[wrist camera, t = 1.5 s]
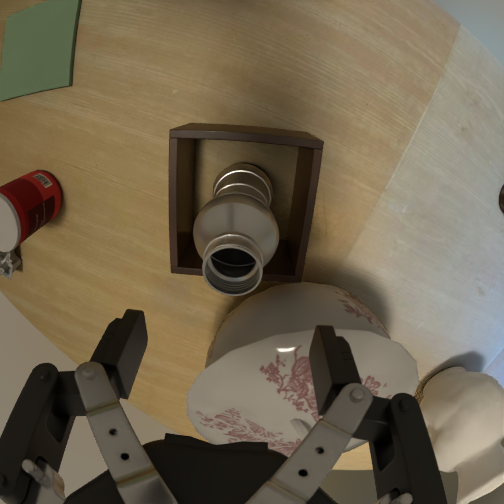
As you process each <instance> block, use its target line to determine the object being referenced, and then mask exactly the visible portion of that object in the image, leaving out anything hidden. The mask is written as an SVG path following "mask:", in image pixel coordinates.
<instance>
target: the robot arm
mask: <svg viewBox="0 0 504 504" xmlns="http://www.w3.org/2000/svg"><path fill="white" fill-rule="evenodd" d="M147 341H148V336H147V329H146V323H145V316H144V312H143V311H141V310H133V309H127V310H126V312H125V314H124V316H123V318H122V319H120V318H116V319H115V320H114V321H112V322H111V323H110V324H109V325H108V327H107V329H106V331H105V333H104V334H103V336H102V339H101V340H100V342H99V344H98V346H97V348H96V349H95V351H94V353H93V355H92V357H91V359H90V361H89V362H85V363H83V364H81V365H80V366H79V367H78V368H77V369H76V371H64V372H63V371H62V372H58V370H57V368H56V367H55V366H54V365H53V364H50V363H42V364H39V365H38V366H36V367H35V368H34V369H33V370H32V372H31V374H30V376H29V378H28V380H27V382H26V384H25V386H24V388H23V389H22V391H21V394H20V396H19V398H18V400H17V402H16V404H15V406H14V408H13V410H12V413H11V415H10V417H9V419H8V421H7V423H6V426H5V428H4V431H3V433H2V435H1V438H0V499H2V500H3V501H4V502H5V503H6V504H338V503H336V502H335V501H334V500H333V499H332V498H331V497H330V496H329V495H328V494H327V493H325V492H324V491H323V490H322V489H321V488H320V487H319V486H320V485H321V484H322V482H323V481H324V479H325V478H326V476H327V475H328V474H329V472H330V471H331V469H332V468H333V466H334V465H335V463H336V462H337V460H338V459H339V457H340V456H341V454H342V453H343V451H344V450H345V448H346V446H347V445H348V443H349V442H350V440H351V438H355V439H360V440H366V441H368V442H369V447H370V453H371V459H372V465H373V471H374V478H375V485H376V491H377V499H378V501H376V502H375V503H374V504H447V500H446V496H445V491H444V487H443V483H442V480H441V475H440V472H439V468H438V464H437V460H436V457H435V453H434V450H433V447H432V443H431V440H430V437H429V433H428V430H427V427H426V424H425V421H424V418H423V415H422V412H421V409H420V406H419V403H418V401H417V400H416V398H415V397H413V396H412V395H410V394H408V393H398V394H395V395H394V396H393V397H392V399H387V398H382V397H377V396H374V395H372V393H371V391H370V390H369V389H368V388H367V387H366V386H364V385H362V382H361V379H360V376H359V372H358V369H357V366H356V363H355V360H354V357H353V354H352V351H351V348H350V345H349V343H348V342H347V341H346V340H345V338H344V337H343V336H336V334H335V330H334V327H333V326H332V325H316V327H315V331H314V335H313V338H312V342H311V346H310V350H309V363H310V369H311V374H312V380H313V386H314V392H315V398H316V404H317V410H318V416H323V417H322V418H320V419H319V420H318V421H317V422H316V424H315V425H314V426H313V428H312V429H311V430H310V432H309V433H308V434H307V435H306V437H305V438H304V439H303V440H302V442H301V443H300V444H299V445H298V447H297V448H296V449H295V450H294V452H293V453H292V454H291V455H290V456H289V457H287V456H286V455H284V454H282V453H280V452H278V451H275V450H272V449H268V442H250V441H240V442H234V443H227V444H219V445H215V444H211V443H208V442H205V441H202V440H199V439H196V438H193V437H190V436H183V435H175V434H169V433H166V434H165V439H163V440H157V441H152V442H149V443H146V444H144V445H141V443H140V441H139V440H138V437H137V436H136V434H135V432H134V430H133V428H132V426H131V424H130V422H129V420H128V418H127V416H126V414H125V412H124V410H123V408H122V406H121V404H120V402H119V400H120V398H123V399H128V398H129V395H130V392H131V389H132V386H133V383H134V380H135V377H136V374H137V372H138V369H139V366H140V363H141V361H142V358H143V355H144V352H145V350H146V347H147ZM76 416H87V419H88V422H89V424H90V427H91V430H92V432H93V435H94V437H95V439H96V442H97V444H98V447H99V449H100V451H101V454H102V456H103V458H104V460H105V462H106V464H107V466H108V470H107V471H105V472H104V473H102V474H100V475H99V476H98V477H96V478H95V479H93V480H92V481H90V482H88V483H87V484H85V485H84V486H82V487H81V488H79V489H78V490H76V491H75V492H73V493H72V494H70V495H69V496H68V497H67V498H65V495H64V482H63V479H62V478H61V476H60V475H59V474H58V471H59V468H60V464H61V461H62V458H63V454H64V451H65V448H66V445H67V441H68V438H69V435H70V432H71V429H72V426H73V423H74V420H75V417H76Z"/></svg>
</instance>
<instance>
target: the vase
mask: <svg viewBox="0 0 504 504" xmlns="http://www.w3.org/2000/svg"><path fill="white" fill-rule="evenodd" d="M423 396H424V397H423V399H422V401H421V403H420V405H419V406H420V409H421V412H422V415H423V418H424V421H425V424H426V427H427V430H428V433H429V437H430V440H431V443H432V447H433V450H434V453H435V457H436V460H437V464H438V468H439V470H441V471H444V472H453V471H457V473H458V478H459V487H458V496H457V502H456V504H467V503H469V502H470V501H473V500H475V499H477V498H479V497H480V496H483V495H485V494H487V493H489V492H491V491H493V490H494V489H496V488H497V487H498V486H500V485H501V484H502V483H504V448H503V447H502V445H501V440H502V439H503V438H504V390H503V388H502V386H501V385H500V384H499V383H498V381H497V380H496V379H494V378H493V377H492V376H490V375H488V374H484V373H480V372H473V371H470V372H467V371H466V370H465V369H464V368H463V367H451V368H448V369H445V370H443V371H442V372H439V373H438V374H436V375H435V376H433V377H432V378H431V379H430V380H429V381H428V382H427V384H426V385H425V387H424V389H423Z"/></svg>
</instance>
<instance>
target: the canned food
mask: <svg viewBox="0 0 504 504" xmlns="http://www.w3.org/2000/svg"><path fill="white" fill-rule="evenodd" d="M61 204H62V193H61V189H60V186H59V184H58V182H57V181H56V179H55V178H54V177H53V176H52V175H51V174H49V173H47V172H45V171H33V172H31V173H28V174H26V175H24V176H22V177H20V178H17V179H15V180H13V181H11V182H9V183H7V184H5V185H3V186H1V187H0V251H1V252H8V251H11V250H12V249H14V248H15V247H17V246H18V245H19V244H21V243H22V242H23V241H24V240H26V239H27V238H28V237H29V236H31V235H32V234H33V233H34V232H36V231H37V230H38V229H40V228H41V227H42V226H44V225H45V224H46V223H48V222H49V221H50V220H52V219H53V218H54V217H55V216H56V215H57V213H58V211H59V210H60V208H61Z"/></svg>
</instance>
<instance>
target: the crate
mask: <svg viewBox="0 0 504 504" xmlns="http://www.w3.org/2000/svg"><path fill="white" fill-rule="evenodd" d="M169 137H170V139H169V238H170V263H171V273H177V274H188V275H199V276H203V270H202V264H203V259H202V258H201V257H200V255H199V254H198V251H197V249H196V246H195V242H194V237H193V192H194V160H195V139H216V140H233V141H247V142H259V143H270V144H280V145H290V146H298V147H299V151H298V159H297V167H296V175H295V183H294V191H293V199H292V206H291V213H290V221H289V228H288V235H287V240H284V239H279V242H278V246H277V249H276V252H275V253H274V255H273V256H272V258H271V259H270V261H269V262H268V263H267V264H266V265H265V266H264V267H263V273H262V278H261V280H263V281H277V282H292V283H301V280H302V275H303V269H304V264H305V259H306V253H307V247H308V242H309V236H310V230H311V224H312V218H313V212H314V206H315V199H316V193H317V186H318V180H319V173H320V166H321V159H322V151H323V150H322V149H323V144H324V141H322V140H320V139H319V138H317V137H315V136H313V135H311V134H310V133H308V132H303V131H295V130H286V129H277V128H267V127H255V126H243V125H227V124H205V123H189V124H186V125H182V126H179V127H176V128H173V129H170V136H169Z"/></svg>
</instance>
